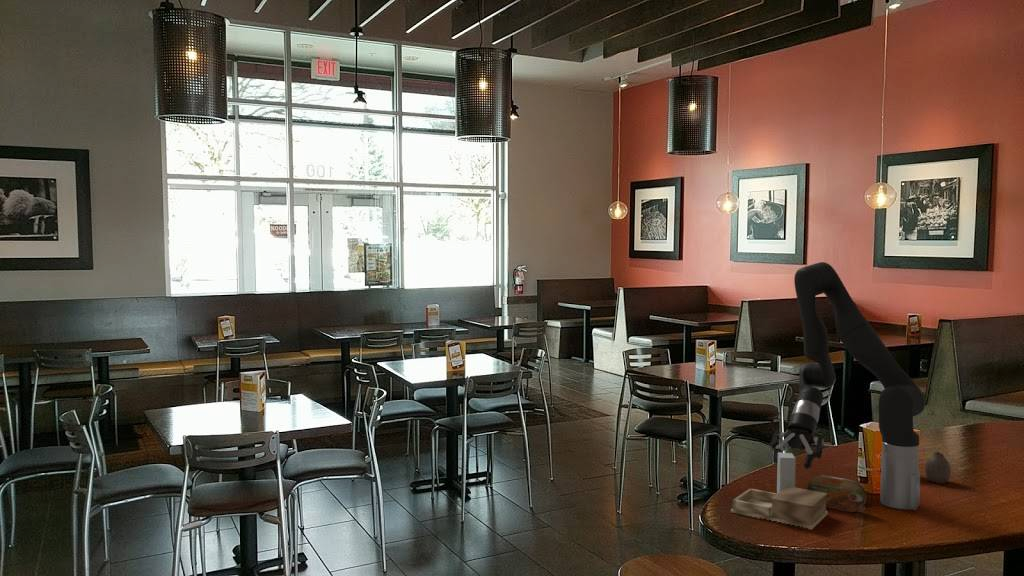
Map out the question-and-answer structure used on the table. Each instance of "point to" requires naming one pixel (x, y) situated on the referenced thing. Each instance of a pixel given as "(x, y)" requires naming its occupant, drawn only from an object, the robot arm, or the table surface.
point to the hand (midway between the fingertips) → (791, 465)
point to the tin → (839, 492)
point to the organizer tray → (761, 507)
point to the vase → (938, 468)
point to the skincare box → (785, 471)
